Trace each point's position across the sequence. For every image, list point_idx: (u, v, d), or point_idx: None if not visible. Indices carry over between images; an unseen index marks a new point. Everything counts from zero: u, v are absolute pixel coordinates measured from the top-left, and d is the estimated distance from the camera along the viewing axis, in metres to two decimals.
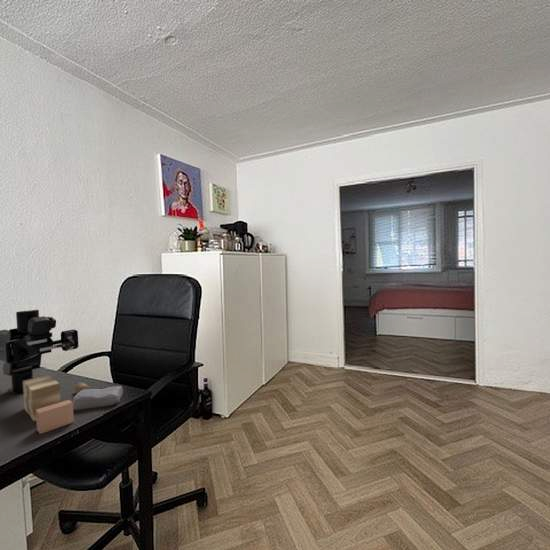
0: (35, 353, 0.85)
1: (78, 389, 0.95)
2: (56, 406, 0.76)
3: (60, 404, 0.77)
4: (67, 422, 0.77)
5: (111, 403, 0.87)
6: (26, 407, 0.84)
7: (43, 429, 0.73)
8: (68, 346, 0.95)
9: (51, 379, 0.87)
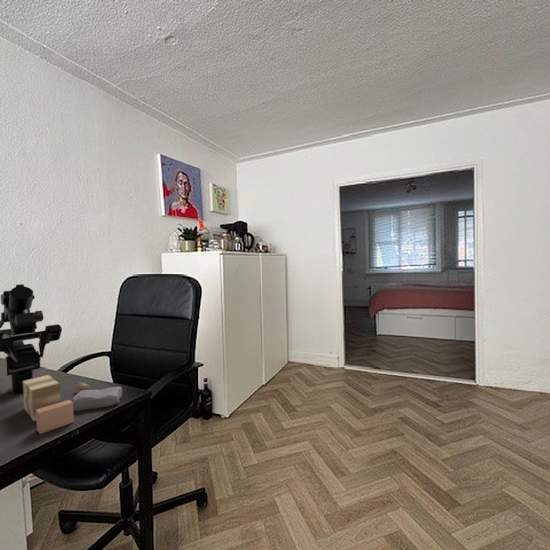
0: (15, 360, 0.91)
1: (79, 388, 0.95)
2: (56, 406, 0.76)
3: (60, 404, 0.77)
4: (67, 422, 0.77)
5: (111, 404, 0.86)
6: (26, 407, 0.84)
7: (43, 429, 0.73)
8: (39, 348, 0.97)
9: (51, 379, 0.87)
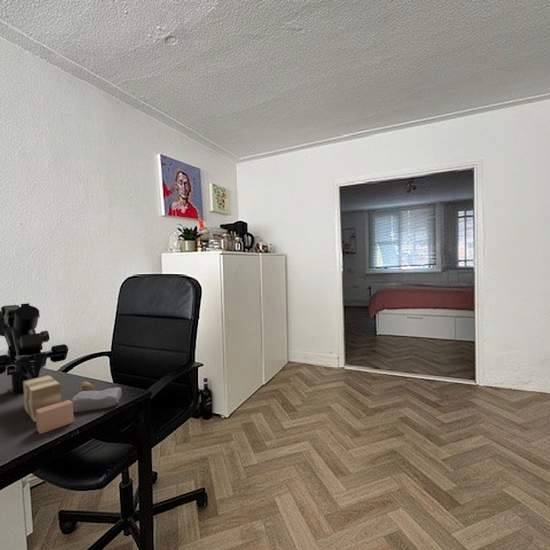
0: None
1: (85, 384, 0.96)
2: (56, 406, 0.76)
3: (60, 404, 0.77)
4: (67, 422, 0.77)
5: (110, 405, 0.85)
6: (26, 407, 0.84)
7: (43, 429, 0.73)
8: (34, 373, 0.91)
9: (52, 379, 0.86)
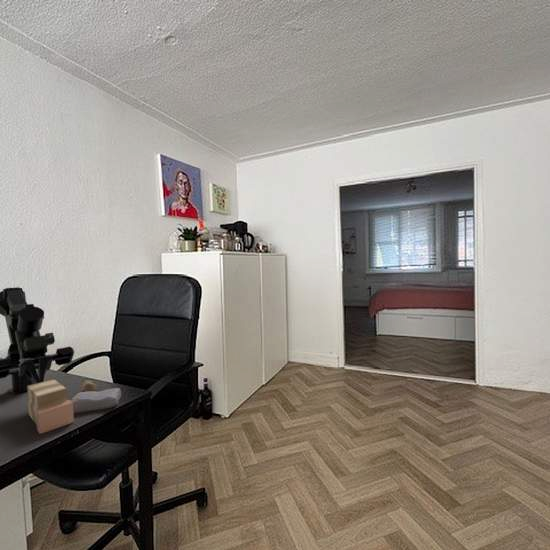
0: None
1: (90, 383, 0.98)
2: (56, 406, 0.76)
3: (60, 404, 0.77)
4: (67, 422, 0.77)
5: (109, 406, 0.85)
6: (31, 413, 0.80)
7: (43, 429, 0.73)
8: (39, 376, 0.87)
9: (57, 384, 0.83)
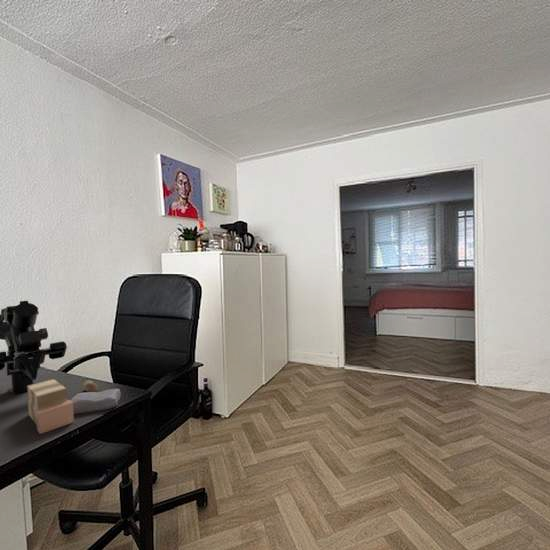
0: (31, 378, 0.90)
1: (92, 382, 0.98)
2: (56, 406, 0.76)
3: (60, 404, 0.77)
4: (67, 422, 0.77)
5: (109, 407, 0.84)
6: (31, 413, 0.80)
7: (43, 429, 0.73)
8: (32, 369, 0.92)
9: (57, 384, 0.83)
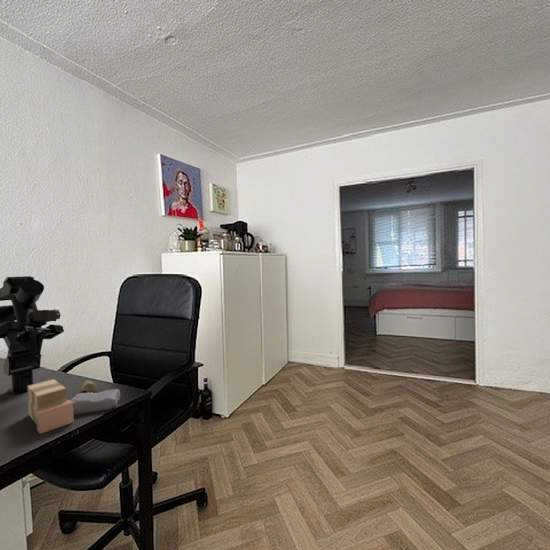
0: (34, 354, 0.93)
1: (91, 382, 0.98)
2: (56, 406, 0.76)
3: (60, 404, 0.77)
4: (67, 422, 0.77)
5: (108, 407, 0.84)
6: (31, 413, 0.80)
7: (43, 429, 0.73)
8: None
9: (57, 384, 0.83)
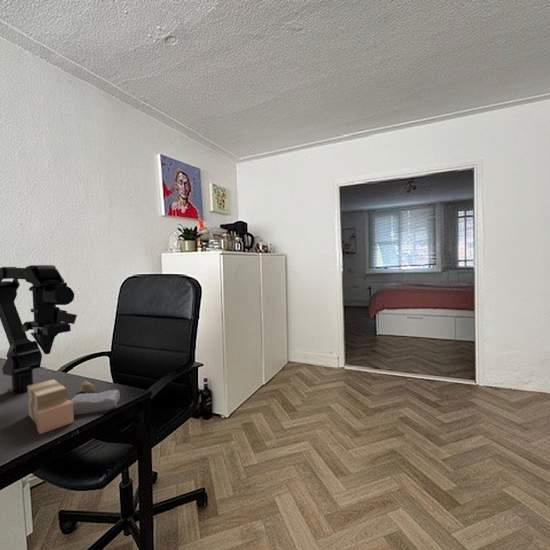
0: (46, 352, 0.96)
1: (86, 384, 0.97)
2: (56, 406, 0.76)
3: (60, 404, 0.77)
4: (67, 422, 0.77)
5: (108, 408, 0.84)
6: (31, 413, 0.80)
7: (43, 429, 0.73)
8: None
9: (57, 384, 0.83)
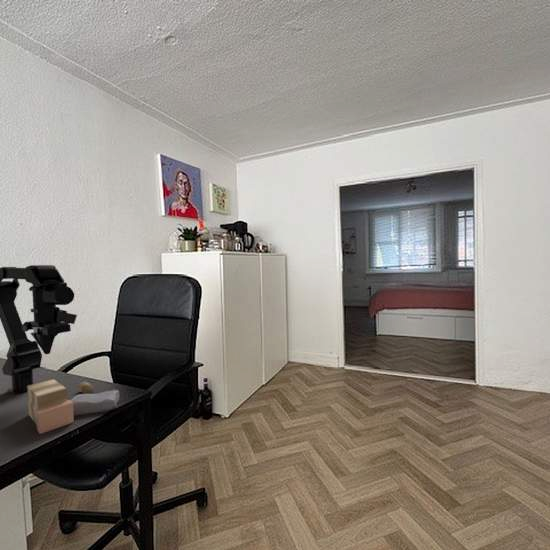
0: (46, 352, 0.96)
1: (83, 385, 0.96)
2: (56, 406, 0.76)
3: (60, 404, 0.77)
4: (67, 422, 0.77)
5: (108, 408, 0.83)
6: (31, 413, 0.80)
7: (43, 429, 0.73)
8: None
9: (57, 384, 0.83)
